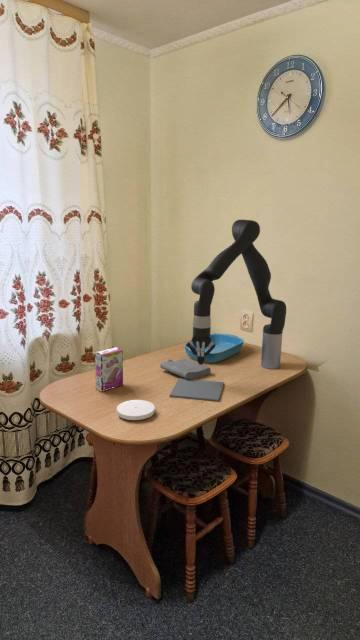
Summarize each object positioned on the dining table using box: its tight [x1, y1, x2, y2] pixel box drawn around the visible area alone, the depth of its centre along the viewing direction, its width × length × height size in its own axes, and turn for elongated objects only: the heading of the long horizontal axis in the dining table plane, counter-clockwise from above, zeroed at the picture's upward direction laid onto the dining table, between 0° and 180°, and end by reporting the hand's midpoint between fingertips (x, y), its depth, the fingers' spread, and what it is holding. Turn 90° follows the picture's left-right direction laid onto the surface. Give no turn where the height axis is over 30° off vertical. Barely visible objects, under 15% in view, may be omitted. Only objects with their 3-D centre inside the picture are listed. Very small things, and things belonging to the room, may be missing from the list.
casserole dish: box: [183, 333, 245, 364], centre depth 229 cm, size 37×22×7 cm, turn 142°
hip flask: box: [159, 357, 212, 380], centre depth 203 cm, size 16×4×20 cm
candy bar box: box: [94, 346, 124, 392], centre depth 183 cm, size 11×5×16 cm, turn 134°
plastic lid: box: [116, 399, 156, 421], centre depth 161 cm, size 14×14×2 cm
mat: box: [169, 377, 225, 403], centre depth 183 cm, size 19×20×1 cm
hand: (200, 363), depth 188 cm, fingers closed
